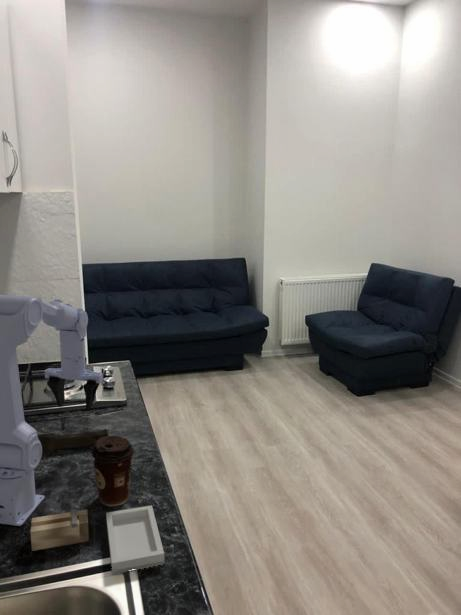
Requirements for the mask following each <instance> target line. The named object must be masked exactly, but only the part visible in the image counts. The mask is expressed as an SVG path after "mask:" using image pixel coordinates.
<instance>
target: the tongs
mask: <svg viewBox="0 0 461 615" xmlns="http://www.w3.org/2000/svg"><path fill="white" fill-rule="evenodd" d="M88 515H89V514H88V509H82V510H78V508H72V509H71V510H70V511H68V512H62V513H55V514H49V515H44V516H36V517H32V518H31V527H30V542H31V543H30V544H31V545H30V546H31V552H33V551H34V552H35V551H39V550H46V549H50V548H57V547H62V546H68V545H73V544H80V543H86V542H89V541H90V539H89V538H90V536H89V535H90V534H89V517H88Z"/></svg>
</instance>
